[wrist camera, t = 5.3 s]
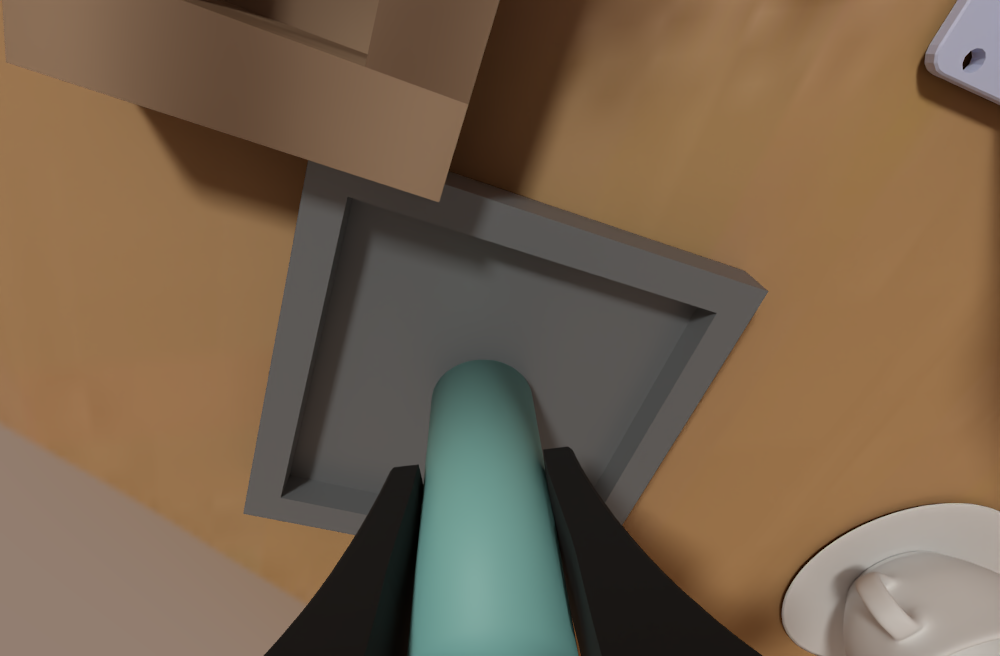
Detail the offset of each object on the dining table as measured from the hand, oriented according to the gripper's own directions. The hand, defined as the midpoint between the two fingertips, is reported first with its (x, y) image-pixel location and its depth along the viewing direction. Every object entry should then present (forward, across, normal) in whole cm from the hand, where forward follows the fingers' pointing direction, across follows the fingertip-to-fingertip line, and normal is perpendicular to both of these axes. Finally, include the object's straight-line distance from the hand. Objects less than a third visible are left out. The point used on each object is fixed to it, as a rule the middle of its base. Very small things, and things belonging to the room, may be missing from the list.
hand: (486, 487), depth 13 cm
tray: (+4, 0, 0) cm, 4 cm away
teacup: (+5, -16, +13) cm, 21 cm away
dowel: (+3, 0, 0) cm, 3 cm away
